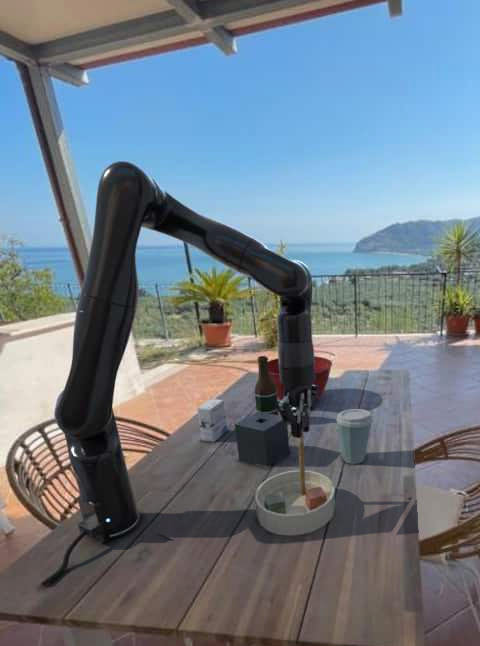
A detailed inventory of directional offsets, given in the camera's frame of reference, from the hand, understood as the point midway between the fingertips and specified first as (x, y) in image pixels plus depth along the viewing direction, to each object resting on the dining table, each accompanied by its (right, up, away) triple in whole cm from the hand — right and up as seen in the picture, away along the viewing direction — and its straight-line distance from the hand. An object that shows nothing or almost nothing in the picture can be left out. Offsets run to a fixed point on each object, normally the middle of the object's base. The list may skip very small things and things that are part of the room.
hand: (300, 433), depth 88 cm
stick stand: (-15, -9, +29) cm, 34 cm away
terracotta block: (+3, -18, +5) cm, 19 cm away
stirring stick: (0, -15, +6) cm, 16 cm away
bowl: (-2, -19, +4) cm, 20 cm away
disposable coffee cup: (+12, -10, +28) cm, 32 cm away
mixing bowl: (-12, +8, +74) cm, 76 cm away
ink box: (-35, -5, +42) cm, 55 cm away
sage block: (-6, -19, +3) cm, 20 cm away
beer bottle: (-20, 0, +54) cm, 58 cm away
